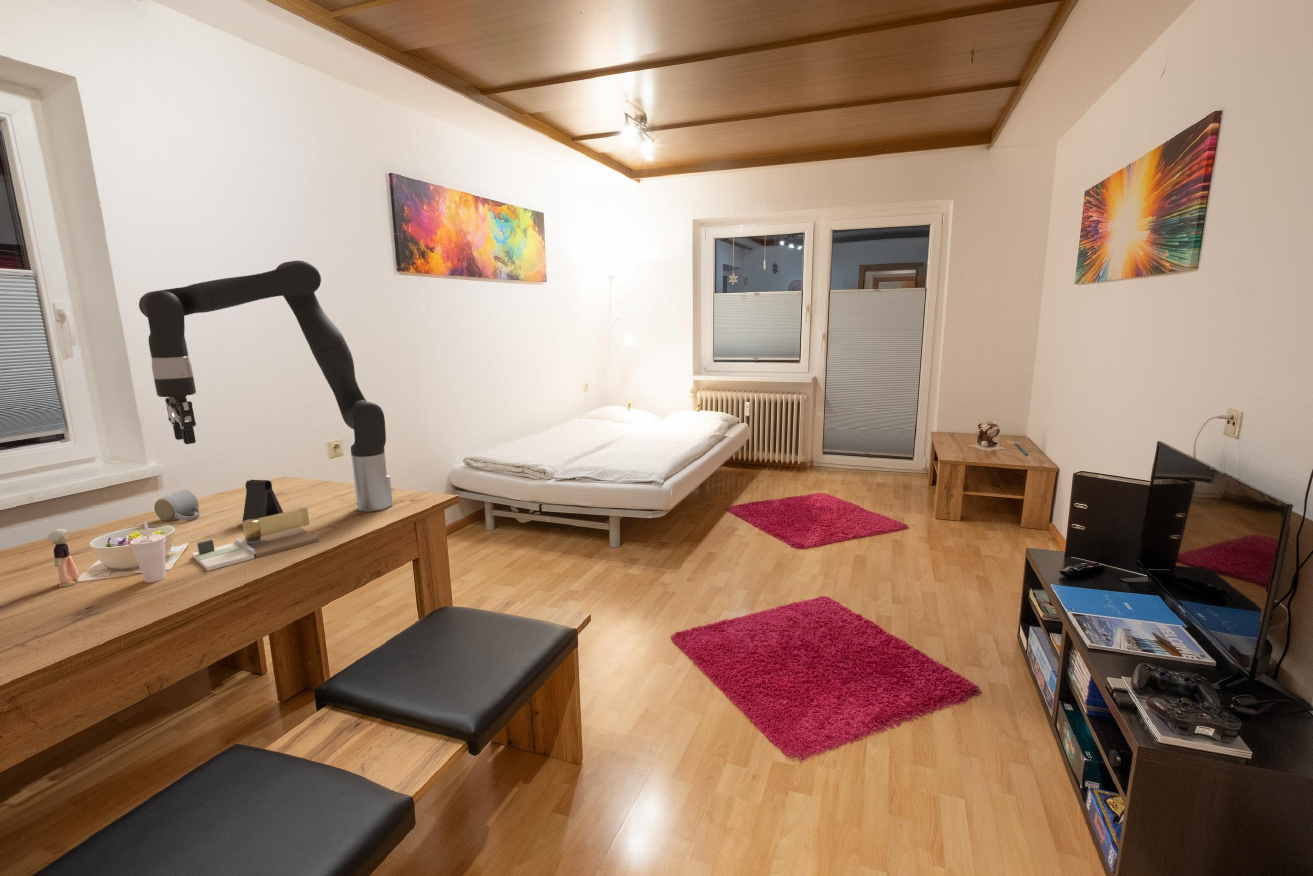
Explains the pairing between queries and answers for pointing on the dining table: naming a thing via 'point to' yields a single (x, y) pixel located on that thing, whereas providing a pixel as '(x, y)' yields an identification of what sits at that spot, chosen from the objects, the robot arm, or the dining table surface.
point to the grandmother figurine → (63, 558)
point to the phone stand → (260, 500)
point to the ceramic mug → (177, 506)
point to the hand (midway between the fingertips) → (185, 441)
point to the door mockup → (250, 548)
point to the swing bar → (275, 523)
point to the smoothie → (150, 555)
